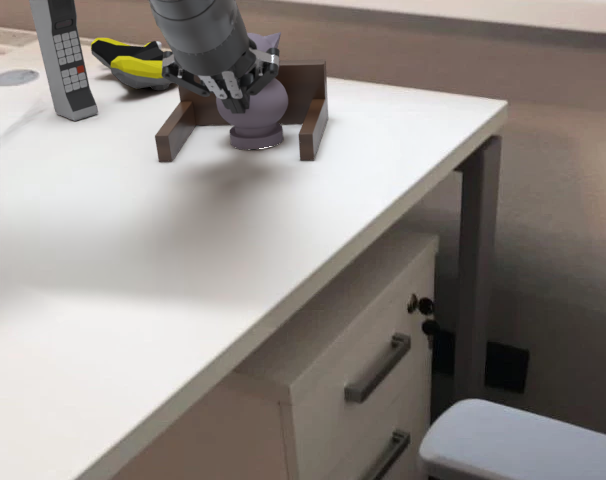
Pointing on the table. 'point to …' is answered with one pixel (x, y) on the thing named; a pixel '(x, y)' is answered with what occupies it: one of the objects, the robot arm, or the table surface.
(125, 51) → the black and yellow sneaker
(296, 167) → the table surface
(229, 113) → the cat figurine
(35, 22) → the vintage mobile phone
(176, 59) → the robot arm
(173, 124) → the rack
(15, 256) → the table surface
